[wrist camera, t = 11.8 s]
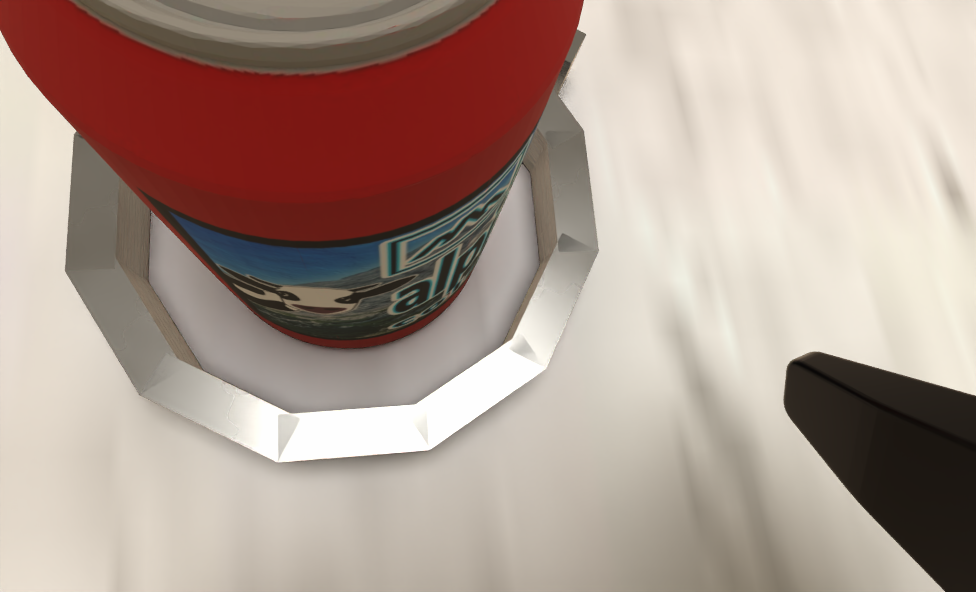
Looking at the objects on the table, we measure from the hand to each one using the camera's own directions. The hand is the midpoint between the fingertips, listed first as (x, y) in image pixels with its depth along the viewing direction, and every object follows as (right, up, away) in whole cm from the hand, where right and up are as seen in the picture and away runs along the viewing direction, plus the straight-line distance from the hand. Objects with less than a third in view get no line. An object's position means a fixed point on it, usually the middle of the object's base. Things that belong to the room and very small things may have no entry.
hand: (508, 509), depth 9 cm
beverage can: (-4, +5, +9) cm, 11 cm away
